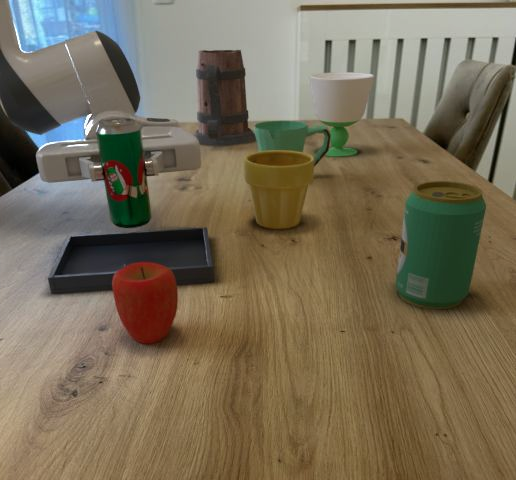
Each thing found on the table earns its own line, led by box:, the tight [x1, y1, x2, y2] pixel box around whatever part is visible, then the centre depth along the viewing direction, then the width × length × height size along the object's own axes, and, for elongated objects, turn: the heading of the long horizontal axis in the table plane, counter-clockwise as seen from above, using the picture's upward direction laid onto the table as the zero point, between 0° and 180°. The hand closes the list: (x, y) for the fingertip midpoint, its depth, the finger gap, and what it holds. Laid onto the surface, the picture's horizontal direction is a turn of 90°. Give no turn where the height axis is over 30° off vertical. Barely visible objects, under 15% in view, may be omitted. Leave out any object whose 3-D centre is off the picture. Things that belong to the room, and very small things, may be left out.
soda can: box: [96, 118, 153, 229], centre depth 66 cm, size 5×5×12 cm
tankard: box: [193, 49, 257, 147], centre depth 133 cm, size 24×17×20 cm
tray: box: [47, 226, 215, 295], centre depth 71 cm, size 19×14×2 cm
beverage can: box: [395, 180, 487, 310], centre depth 60 cm, size 8×8×12 cm
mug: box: [253, 120, 331, 168], centre depth 104 cm, size 15×10×10 cm
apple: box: [112, 262, 179, 345], centre depth 54 cm, size 6×6×8 cm
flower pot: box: [243, 150, 315, 230], centre depth 83 cm, size 10×10×10 cm
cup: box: [309, 71, 375, 158], centre depth 121 cm, size 14×14×16 cm
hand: (125, 171), depth 65 cm, fingers closed on soda can, 5 cm apart
